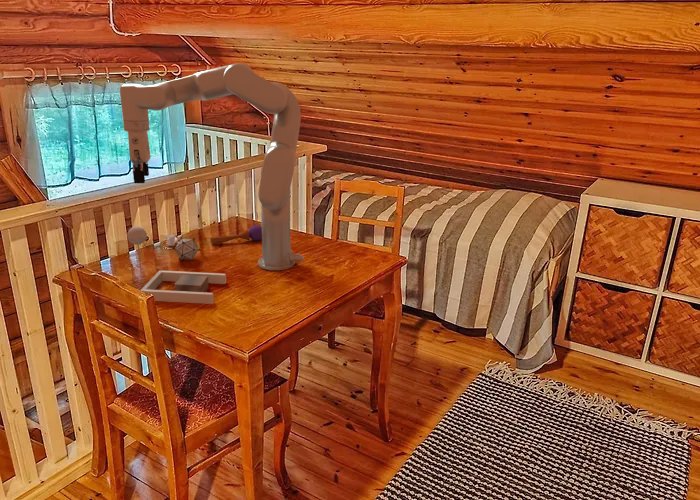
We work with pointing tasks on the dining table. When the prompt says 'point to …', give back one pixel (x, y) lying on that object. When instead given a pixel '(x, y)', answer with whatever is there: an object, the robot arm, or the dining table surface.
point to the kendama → (240, 236)
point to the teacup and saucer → (171, 240)
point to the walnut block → (191, 283)
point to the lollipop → (137, 237)
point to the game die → (186, 248)
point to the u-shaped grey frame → (182, 295)
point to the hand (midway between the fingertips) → (141, 179)
